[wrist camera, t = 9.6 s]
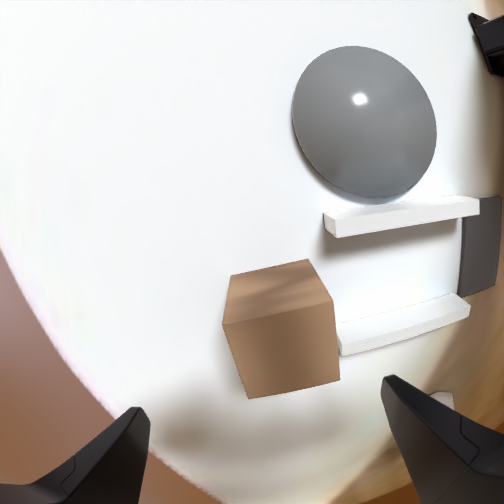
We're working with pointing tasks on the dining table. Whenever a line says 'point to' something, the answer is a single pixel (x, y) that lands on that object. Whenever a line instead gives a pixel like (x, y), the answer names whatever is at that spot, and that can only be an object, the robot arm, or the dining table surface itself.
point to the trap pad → (480, 247)
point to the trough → (415, 316)
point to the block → (281, 329)
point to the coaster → (364, 121)
